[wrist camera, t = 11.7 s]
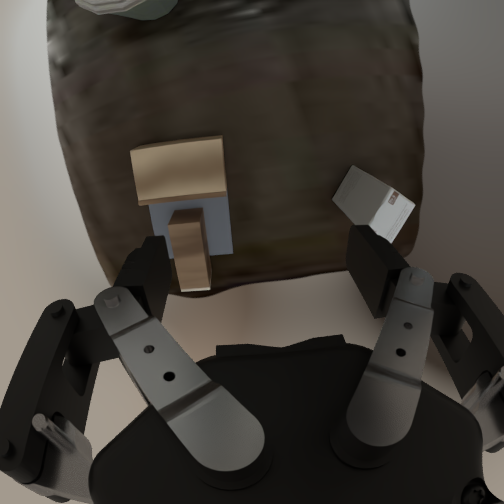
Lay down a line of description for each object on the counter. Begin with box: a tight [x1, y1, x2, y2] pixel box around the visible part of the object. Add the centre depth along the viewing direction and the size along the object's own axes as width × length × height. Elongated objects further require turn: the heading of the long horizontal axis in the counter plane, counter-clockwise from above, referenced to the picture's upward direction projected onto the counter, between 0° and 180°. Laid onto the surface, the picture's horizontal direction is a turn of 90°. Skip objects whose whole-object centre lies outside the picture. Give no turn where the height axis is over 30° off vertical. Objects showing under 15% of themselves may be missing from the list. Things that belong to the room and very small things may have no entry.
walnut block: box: [168, 208, 212, 292], centre depth 40 cm, size 5×4×10 cm
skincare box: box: [332, 165, 415, 243], centre depth 35 cm, size 6×4×12 cm
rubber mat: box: [149, 194, 233, 259], centre depth 41 cm, size 10×11×1 cm
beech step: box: [130, 135, 227, 206], centre depth 35 cm, size 7×11×4 cm, turn 93°
